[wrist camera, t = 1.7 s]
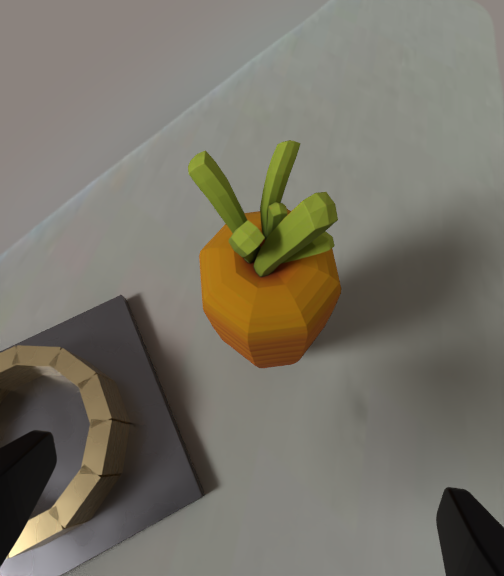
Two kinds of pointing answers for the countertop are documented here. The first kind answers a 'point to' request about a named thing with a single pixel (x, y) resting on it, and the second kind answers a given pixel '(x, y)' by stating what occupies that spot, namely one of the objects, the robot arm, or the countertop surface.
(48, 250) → the countertop surface
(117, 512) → the collar plate
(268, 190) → the carrot
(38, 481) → the robot arm
